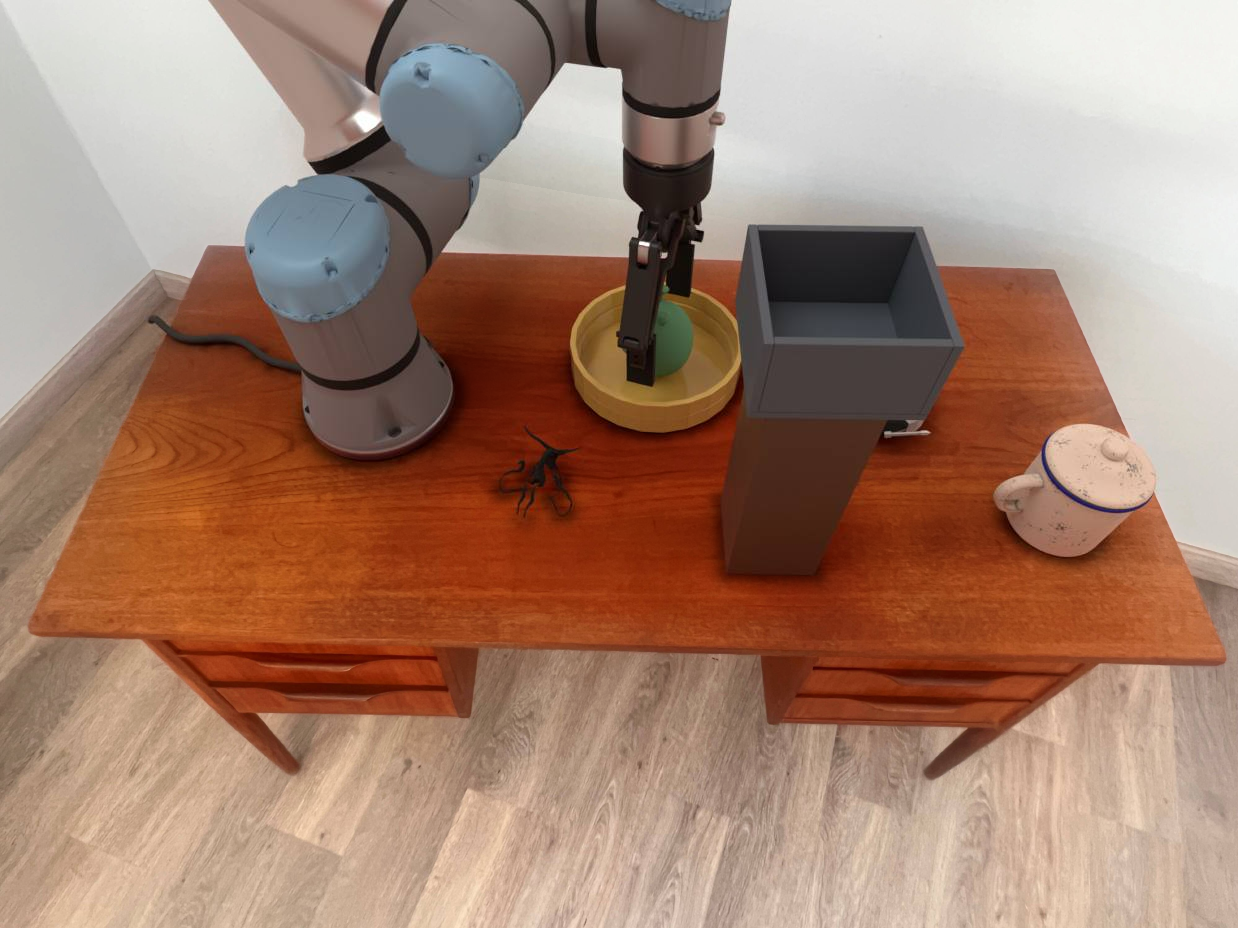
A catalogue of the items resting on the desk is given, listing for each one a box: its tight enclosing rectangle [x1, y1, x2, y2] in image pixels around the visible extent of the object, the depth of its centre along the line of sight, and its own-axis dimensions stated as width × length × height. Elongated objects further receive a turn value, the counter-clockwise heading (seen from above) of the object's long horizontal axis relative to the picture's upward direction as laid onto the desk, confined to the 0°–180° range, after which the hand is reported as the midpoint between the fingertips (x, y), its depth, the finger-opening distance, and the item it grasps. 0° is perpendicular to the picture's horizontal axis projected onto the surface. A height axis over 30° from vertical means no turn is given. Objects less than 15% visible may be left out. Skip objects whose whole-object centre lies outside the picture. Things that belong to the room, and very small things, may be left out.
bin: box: [720, 223, 966, 576], centre depth 57 cm, size 11×11×31 cm
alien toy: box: [622, 285, 694, 377], centre depth 77 cm, size 7×8×10 cm
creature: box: [498, 425, 582, 519], centre depth 70 cm, size 8×5×8 cm
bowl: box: [569, 281, 742, 434], centre depth 80 cm, size 18×18×4 cm
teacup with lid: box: [992, 423, 1157, 558], centre depth 66 cm, size 12×9×12 cm
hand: (660, 335), depth 77 cm, fingers open, 13 cm apart
